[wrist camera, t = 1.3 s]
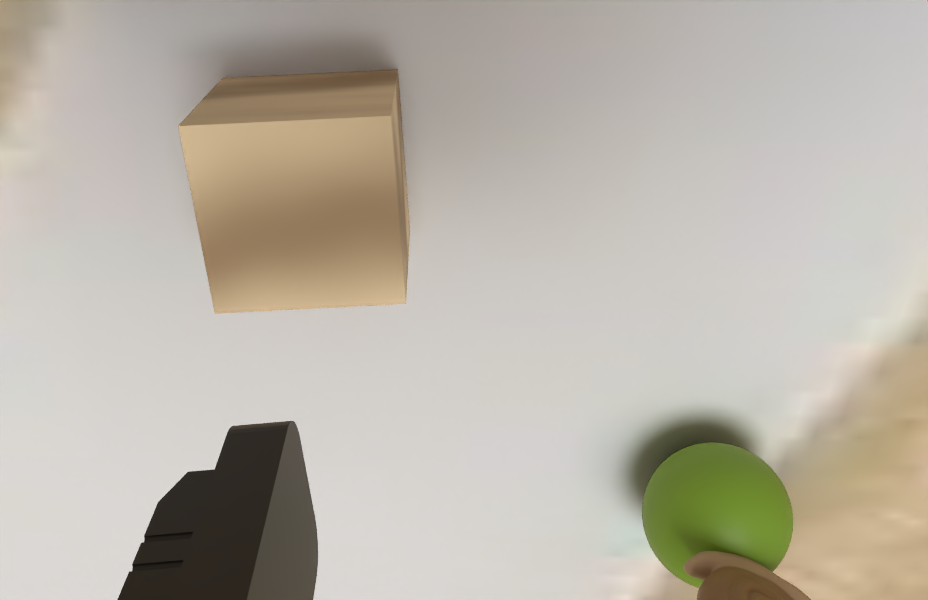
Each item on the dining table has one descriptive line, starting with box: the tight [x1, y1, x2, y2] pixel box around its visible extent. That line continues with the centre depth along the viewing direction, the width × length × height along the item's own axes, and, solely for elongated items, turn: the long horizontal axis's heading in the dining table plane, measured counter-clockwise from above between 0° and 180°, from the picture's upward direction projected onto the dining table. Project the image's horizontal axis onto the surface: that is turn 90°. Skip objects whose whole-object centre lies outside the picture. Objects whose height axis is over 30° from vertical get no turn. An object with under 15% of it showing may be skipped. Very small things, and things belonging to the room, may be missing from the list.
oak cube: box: [178, 70, 410, 313], centre depth 26 cm, size 6×6×6 cm
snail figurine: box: [642, 442, 811, 600], centre depth 30 cm, size 5×6×12 cm
